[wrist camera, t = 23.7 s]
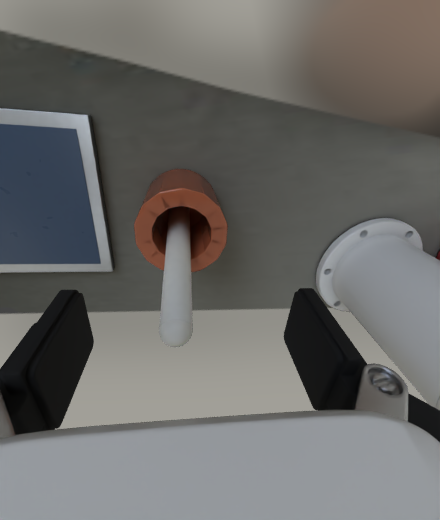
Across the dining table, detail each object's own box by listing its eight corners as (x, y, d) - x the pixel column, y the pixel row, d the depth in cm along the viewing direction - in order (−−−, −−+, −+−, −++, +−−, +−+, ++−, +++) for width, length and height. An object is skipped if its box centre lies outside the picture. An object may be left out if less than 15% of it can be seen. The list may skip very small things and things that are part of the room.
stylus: (189, 195, 23) (194, 335, 13) (188, 212, 25) (192, 353, 14) (169, 194, 23) (157, 336, 13) (169, 211, 24) (158, 354, 14)
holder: (218, 169, 23) (231, 190, 17) (214, 237, 27) (223, 273, 21) (143, 165, 22) (129, 186, 16) (148, 236, 26) (138, 274, 20)
